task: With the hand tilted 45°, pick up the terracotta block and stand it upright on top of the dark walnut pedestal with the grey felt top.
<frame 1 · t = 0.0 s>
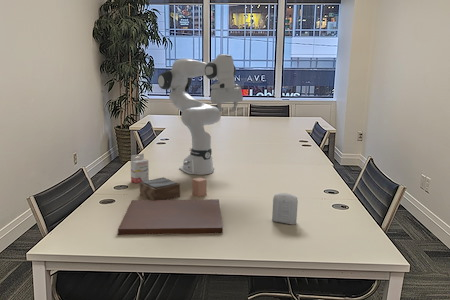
hand: (227, 111, 220), 39 cm above the table, tool pointing down, fingers open, 8 cm apart
brown wooden board: (173, 219, 174), on the table
ink cartridge box: (140, 181, 225), on the table
grey tombstone: (284, 222, 171), on the table
walnut pedestal: (159, 195, 201), on the table
terracotta block: (199, 194, 204), on the table
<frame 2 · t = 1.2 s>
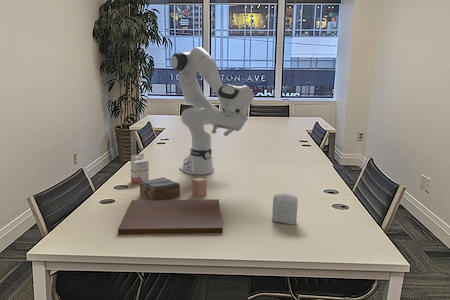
hand: (218, 134, 205), 29 cm above the table, tool tilted 45°, fingers open, 8 cm apart
nothing on the table moved.
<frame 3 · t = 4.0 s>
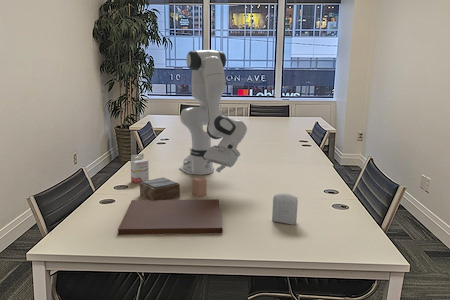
hand: (211, 169, 206), 12 cm above the table, tool tilted 45°, fingers open, 8 cm apart
nothing on the table moved.
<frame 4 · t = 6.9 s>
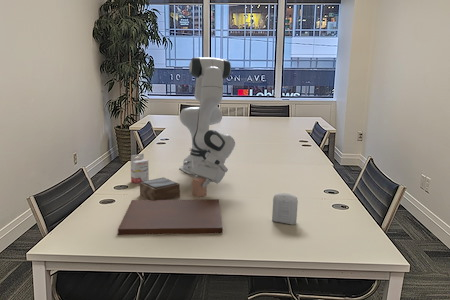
hand: (198, 185, 202), 5 cm above the table, tool tilted 45°, fingers closed on terracotta block, 5 cm apart
terracotta block: (199, 194, 204), on the table, touching gripper
everything else where it was.
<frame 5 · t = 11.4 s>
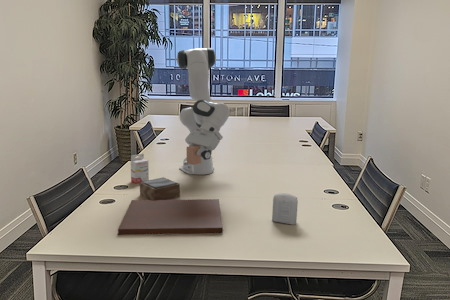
hand: (192, 153, 198), 21 cm above the table, tool tilted 45°, fingers closed on terracotta block, 5 cm apart
terracotta block: (193, 163, 200), point 16 cm above the table, touching gripper
everything else where it was.
when the fingers open (13 cm above the table, at t = 15.8 s): terracotta block drops 1 cm, resting on walnut pedestal.
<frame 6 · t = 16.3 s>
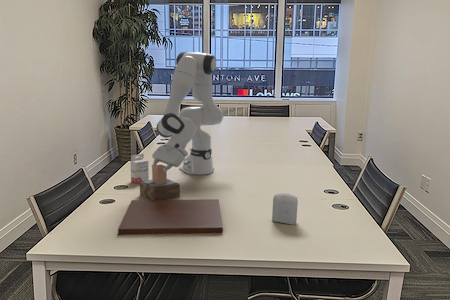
hand: (158, 169, 198), 13 cm above the table, tool tilted 45°, fingers open, 8 cm apart
terracotta block: (159, 182, 200), point 7 cm above the table, touching walnut pedestal
everything else where it was.
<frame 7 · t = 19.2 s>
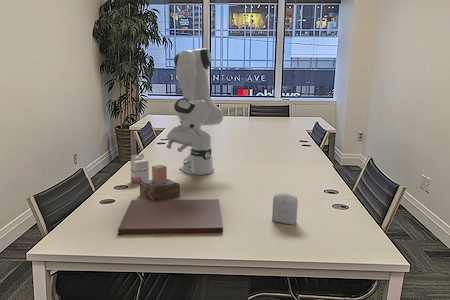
hand: (173, 149, 202), 22 cm above the table, tool tilted 45°, fingers open, 8 cm apart
nothing on the table moved.
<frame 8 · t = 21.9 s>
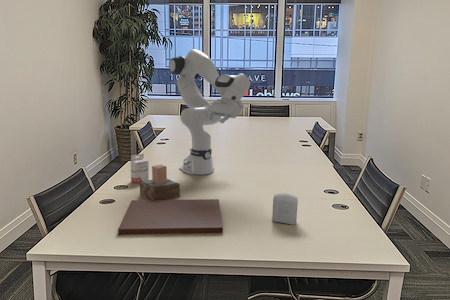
hand: (215, 121, 206), 35 cm above the table, tool tilted 45°, fingers open, 8 cm apart
nothing on the table moved.
at the end: terracotta block inside the target area on the walnut pedestal (0.0 cm from its centre), point 7.0 cm above the walnut pedestal's base; terracotta block tilted 0°; the gripper is holding nothing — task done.
